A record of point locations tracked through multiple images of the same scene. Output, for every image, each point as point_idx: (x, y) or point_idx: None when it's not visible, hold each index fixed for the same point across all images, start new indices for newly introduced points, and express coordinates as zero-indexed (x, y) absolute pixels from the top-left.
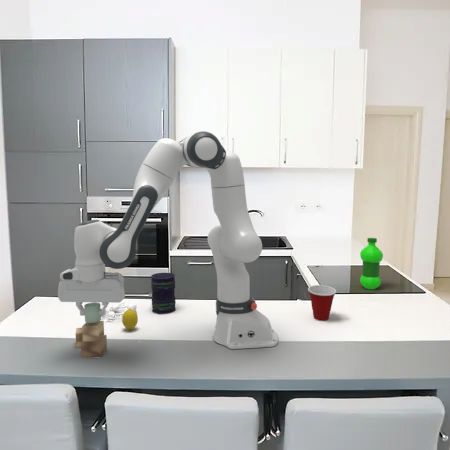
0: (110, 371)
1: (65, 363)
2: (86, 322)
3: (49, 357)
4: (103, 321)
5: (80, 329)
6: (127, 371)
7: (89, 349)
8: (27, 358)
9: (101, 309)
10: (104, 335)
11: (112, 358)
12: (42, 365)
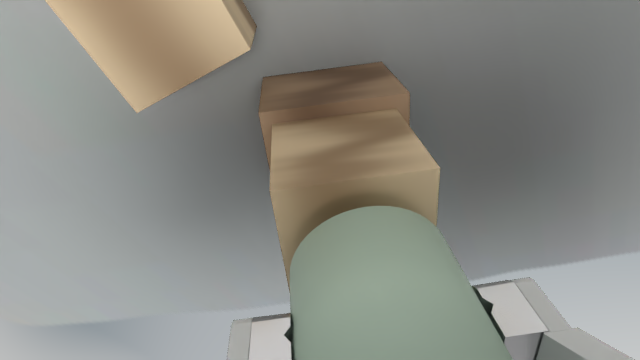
0: (472, 262)
1: (242, 245)
2: (282, 238)
3: (112, 212)
4: (437, 168)
5: (104, 10)
6: (541, 249)
7: None
8: (8, 241)
9: (520, 351)
10: (397, 106)
11: (449, 162)
12: (150, 278)
